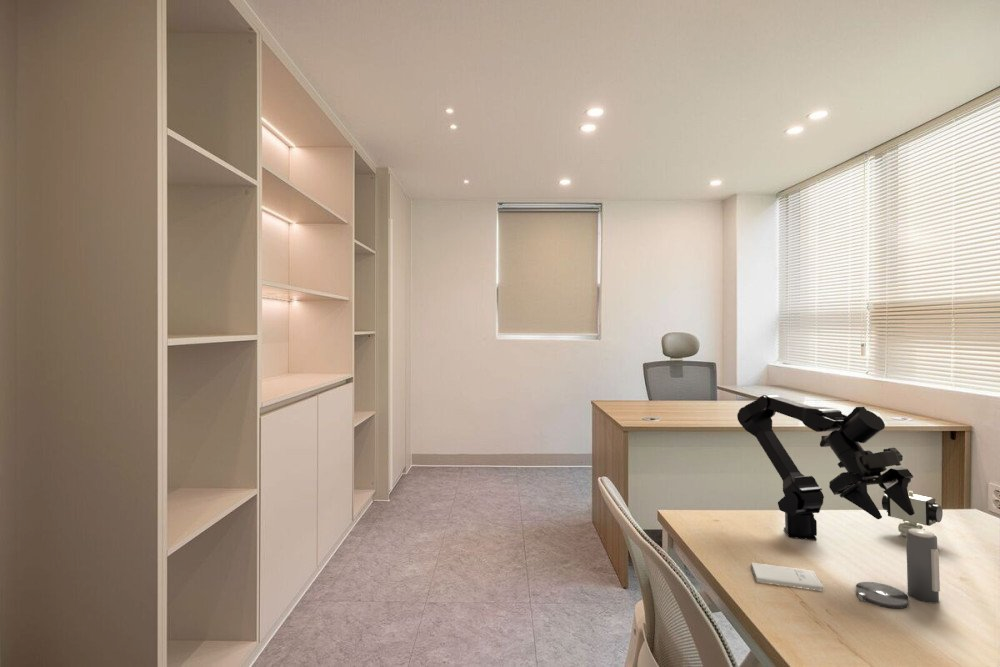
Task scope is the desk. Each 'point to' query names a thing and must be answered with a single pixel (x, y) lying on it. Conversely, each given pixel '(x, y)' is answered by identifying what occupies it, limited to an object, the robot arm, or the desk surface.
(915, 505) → the pneumatic valve
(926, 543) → the dark gray cylinder
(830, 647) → the desk surface
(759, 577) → the external hard drive
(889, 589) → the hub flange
